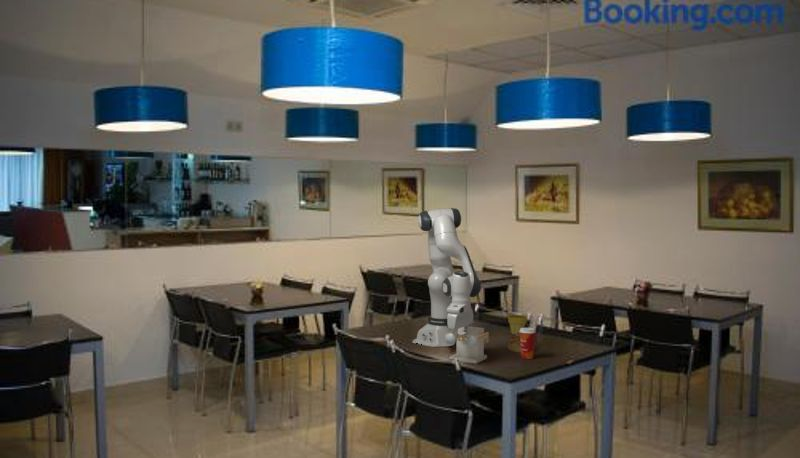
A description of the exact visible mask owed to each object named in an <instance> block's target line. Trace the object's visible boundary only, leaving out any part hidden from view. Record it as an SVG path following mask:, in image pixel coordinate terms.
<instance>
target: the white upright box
mask: <svg viewBox="0 0 800 458" xmlns="http://www.w3.org/2000/svg"><path fill="white" fill-rule="evenodd" d="M463 331H464V327H462V328H459V329H458V331H457V332H458V334H460V335H463ZM484 333H485V328H484V327H477V326H470V325H469V329H468V334H467V337H469V336H475V337H476V336H479V335H481V334H484ZM487 338H488V336H487V335H486V336H483V337H481V338H479V339H477V345H476V346H474V347H469V346H468V345H467V343H466V339H467V338H465V341H464V342H463V341H462V338H460V341H457V340H456V345H455V346H456V353H454V354H451V355H450V356H449V357H448V358H449V360H450V359H453V358H457V359H458V360H459V361H458V362H463V363H469V364H478V363H480V362H482V361H484V360H486V359H488V355H487V354H484V351H485V350H484V349H485V348H484V339H487ZM450 361H451V360H450Z"/></svg>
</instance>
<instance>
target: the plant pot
mask: <svg viewBox="0 0 800 458" xmlns="http://www.w3.org/2000/svg"><path fill="white" fill-rule="evenodd" d="M507 320H508V321H507V322H508V323H509V330H510V334H512V335H513V333H520V332H519V331H520V328H526V324H527V322H528V321H527V320H528V317H527V316H526V315H523V314H510V315H508V317H507Z"/></svg>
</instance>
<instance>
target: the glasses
mask: <svg viewBox="0 0 800 458" xmlns="http://www.w3.org/2000/svg"><path fill="white" fill-rule="evenodd" d="M489 334H490V333H489V331H486V332H484V334H481V335H479V336H476V337H475V336H469V337H467V335H460V334H459V338H457V339H456V338H454V334H453V330H452V331H450V332H447V333H445V335H446V336H445V341H446V343H448V344H453V343H455V344H456V342H457V341H460V338H462V341H463V342H464V341H465V338H467V339H466V343H467V345H468V346H469V347H474V346H476V345H477V339H479V338H481V337H483V336H486V335H487V336H488V338H487V339H486V343H487V344H488V343H489V338H490V335H489Z"/></svg>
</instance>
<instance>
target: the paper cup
mask: <svg viewBox="0 0 800 458" xmlns="http://www.w3.org/2000/svg"><path fill="white" fill-rule="evenodd" d="M519 332H520V345H521V353H520V359H522V360H532V359H533V358H534V353H535V352H534V351H535V349H534V346H535V336H536V330H535V328H534V327H533V328H532V327H524V328H520V331H519Z"/></svg>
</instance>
